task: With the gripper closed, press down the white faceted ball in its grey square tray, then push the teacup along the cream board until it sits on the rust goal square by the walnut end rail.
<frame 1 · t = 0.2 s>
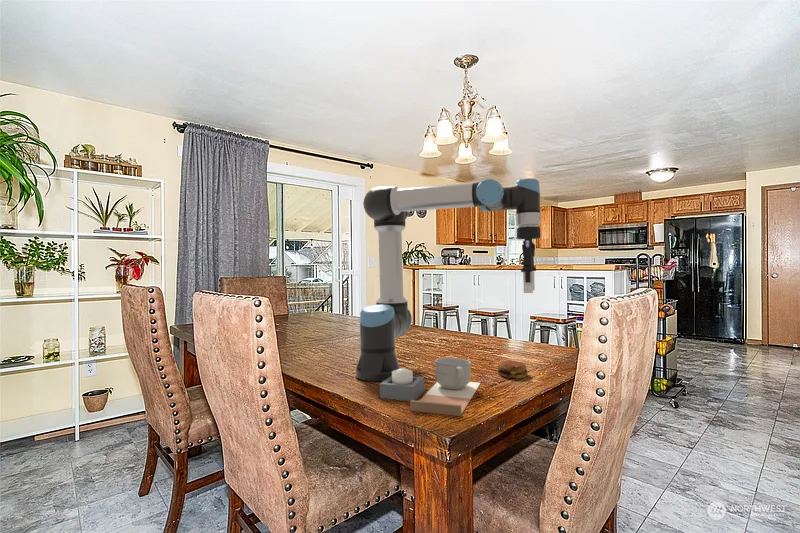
hand: (529, 291, 136), 28 cm above the table, tool pointing down, fingers open, 13 cm apart
burger: (512, 376, 138), on the table
teacup: (454, 389, 124), resting on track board
white faceted ball: (402, 378, 120), point 5 cm above the table, slide at 0.0 cm
grey square tray: (402, 394, 120), on the table
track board: (450, 394, 119), on the table
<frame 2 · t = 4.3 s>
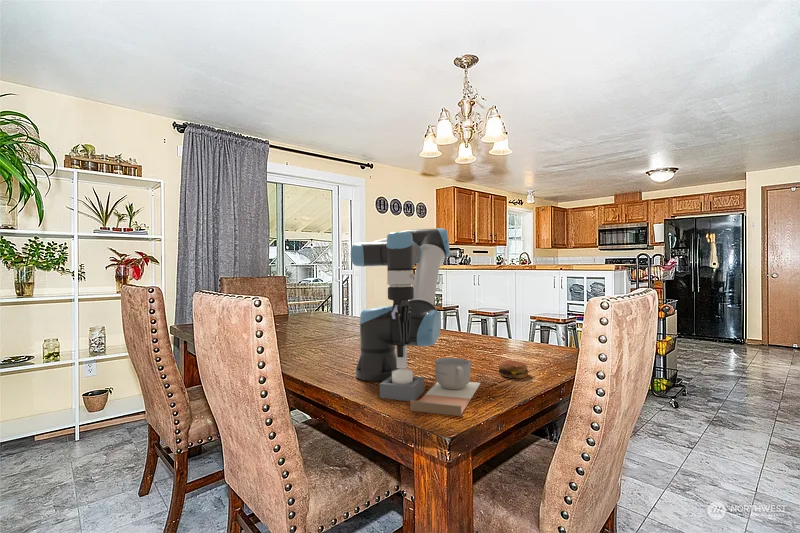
hand: (402, 367, 120), 8 cm above the table, tool pointing down, fingers closed
white faceted ball: (402, 378, 120), point 4 cm above the table, slide at 0.0 cm, touching gripper
everything else where it was.
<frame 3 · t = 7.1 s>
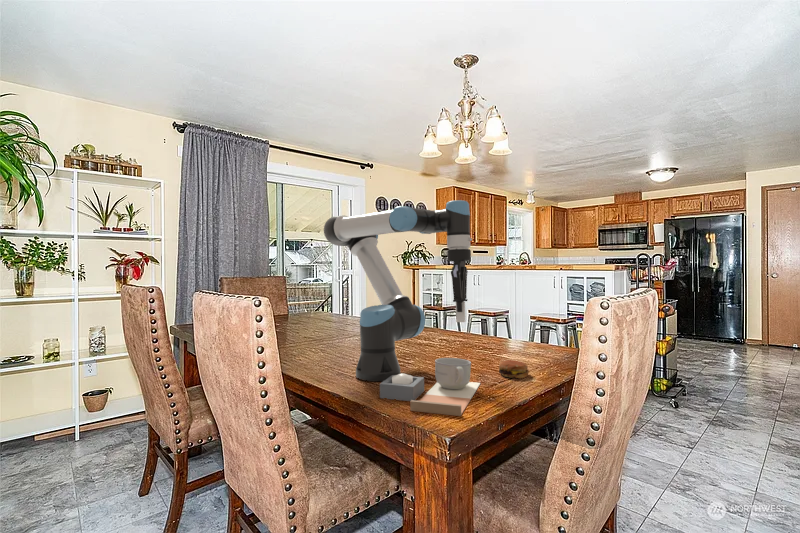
hand: (460, 321, 134), 19 cm above the table, tool pointing down, fingers closed
white faceted ball: (402, 384, 120), point 3 cm above the table, slide at 1.5 cm
everything else where it was.
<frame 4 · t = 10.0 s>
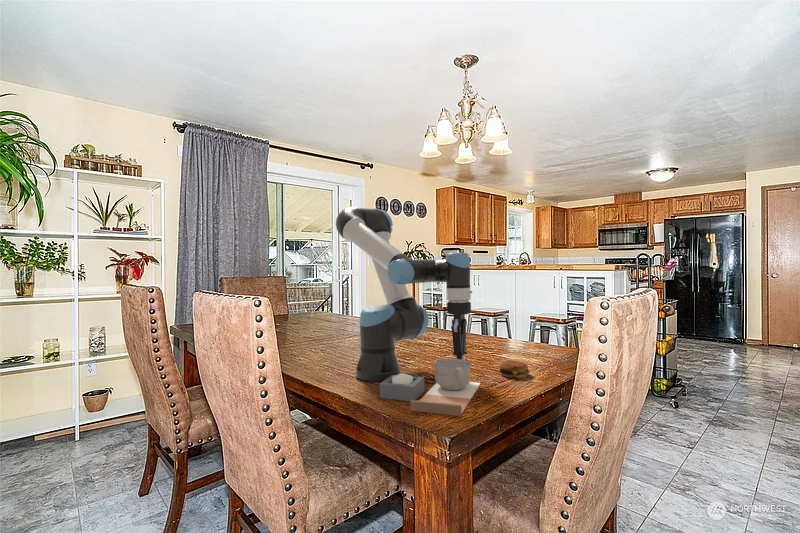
hand: (460, 375, 132), 2 cm above the table, tool pointing down, fingers closed
teacup: (453, 389, 123), resting on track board, touching gripper
everything else where it was.
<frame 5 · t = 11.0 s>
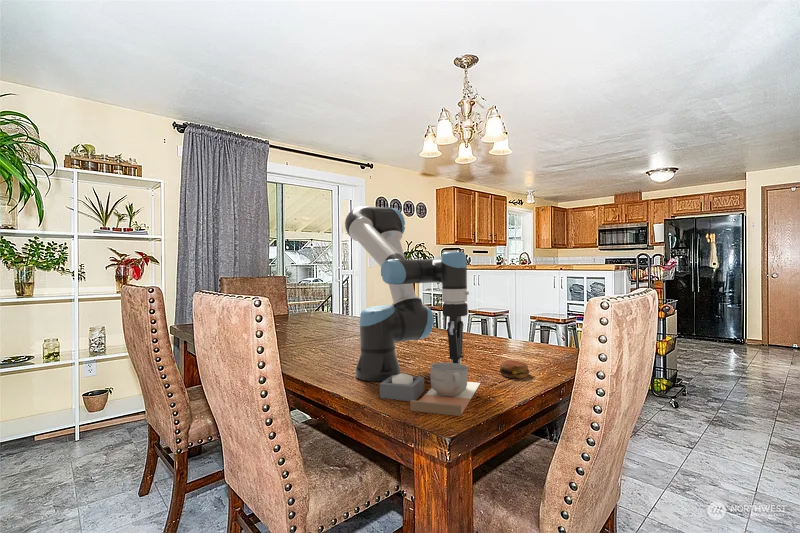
hand: (456, 379, 126), 2 cm above the table, tool pointing down, fingers closed
teacup: (450, 395, 117), resting on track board, touching gripper
everything else where it was.
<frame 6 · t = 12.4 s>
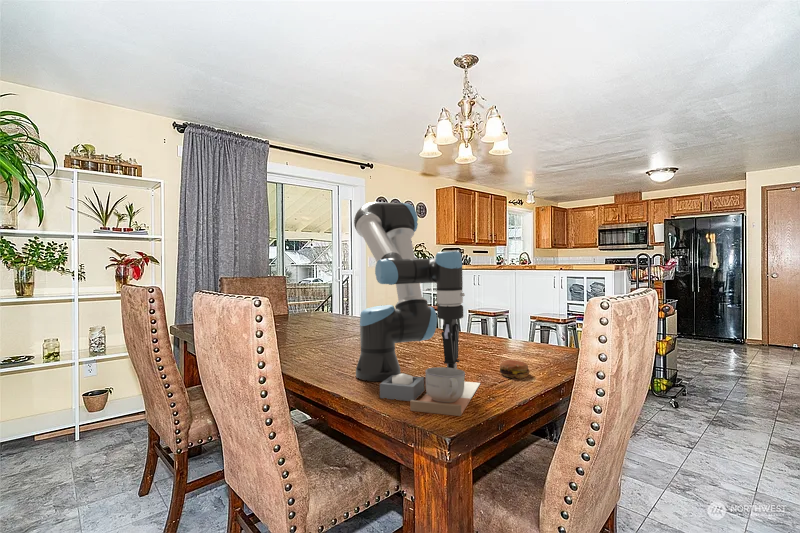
hand: (452, 385, 121), 2 cm above the table, tool pointing down, fingers closed
teacup: (446, 402, 112), resting on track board, touching gripper
everything else where it was.
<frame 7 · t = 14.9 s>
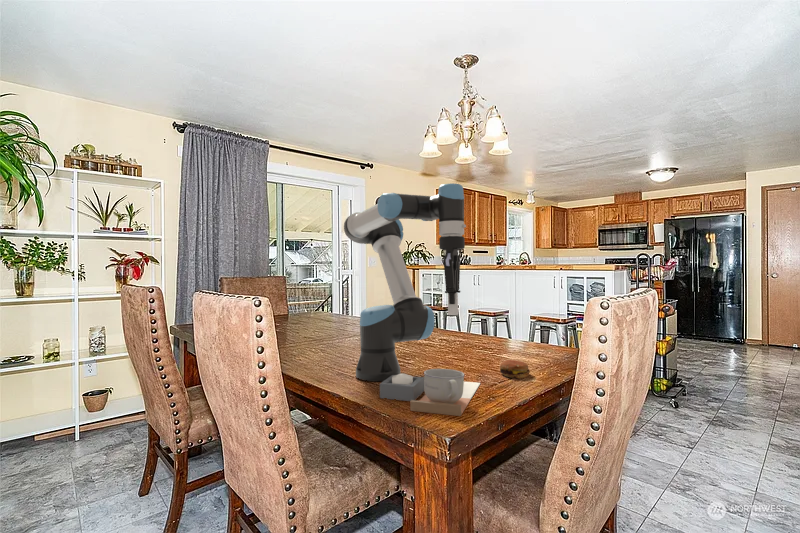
hand: (453, 314, 125), 22 cm above the table, tool pointing down, fingers closed
teacup: (445, 404, 110), resting on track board
everything else where it was.
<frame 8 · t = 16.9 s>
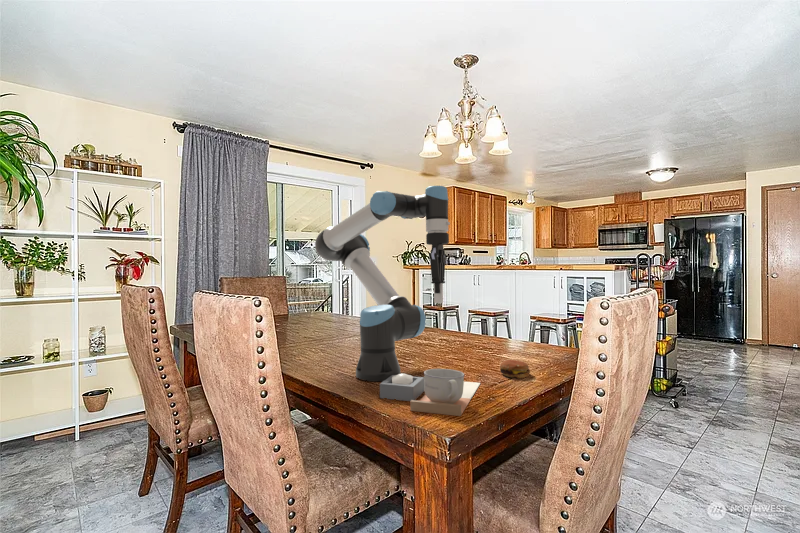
hand: (438, 302, 139), 24 cm above the table, tool pointing down, fingers closed
at the end: white faceted ball slide at 1.5 cm; teacup inside the target area (1.3 cm from its centre), resting on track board; teacup tilted 0° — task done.
